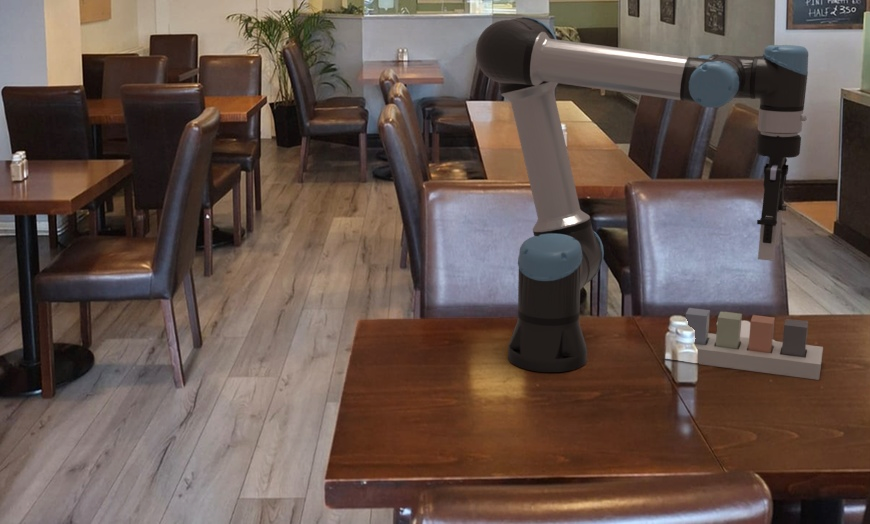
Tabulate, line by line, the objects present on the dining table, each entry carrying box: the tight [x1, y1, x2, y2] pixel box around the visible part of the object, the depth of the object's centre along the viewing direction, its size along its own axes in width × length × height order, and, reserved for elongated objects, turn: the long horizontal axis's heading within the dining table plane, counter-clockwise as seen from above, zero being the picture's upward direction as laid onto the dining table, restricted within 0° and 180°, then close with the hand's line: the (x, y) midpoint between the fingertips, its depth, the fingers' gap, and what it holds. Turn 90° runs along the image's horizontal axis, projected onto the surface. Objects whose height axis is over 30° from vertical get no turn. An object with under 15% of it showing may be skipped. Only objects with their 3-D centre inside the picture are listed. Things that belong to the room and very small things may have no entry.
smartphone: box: [715, 320, 776, 341], centre depth 214 cm, size 7×1×15 cm
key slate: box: [685, 307, 711, 345], centre depth 201 cm, size 4×4×6 cm
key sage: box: [716, 311, 743, 349], centre depth 199 cm, size 4×4×6 cm
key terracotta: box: [748, 314, 776, 353], centre depth 196 cm, size 4×4×6 cm
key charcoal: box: [782, 318, 809, 357], centre depth 194 cm, size 4×4×6 cm
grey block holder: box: [664, 332, 824, 381], centre depth 199 cm, size 28×10×3 cm, turn 68°
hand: (768, 252), depth 192 cm, fingers open, 11 cm apart
